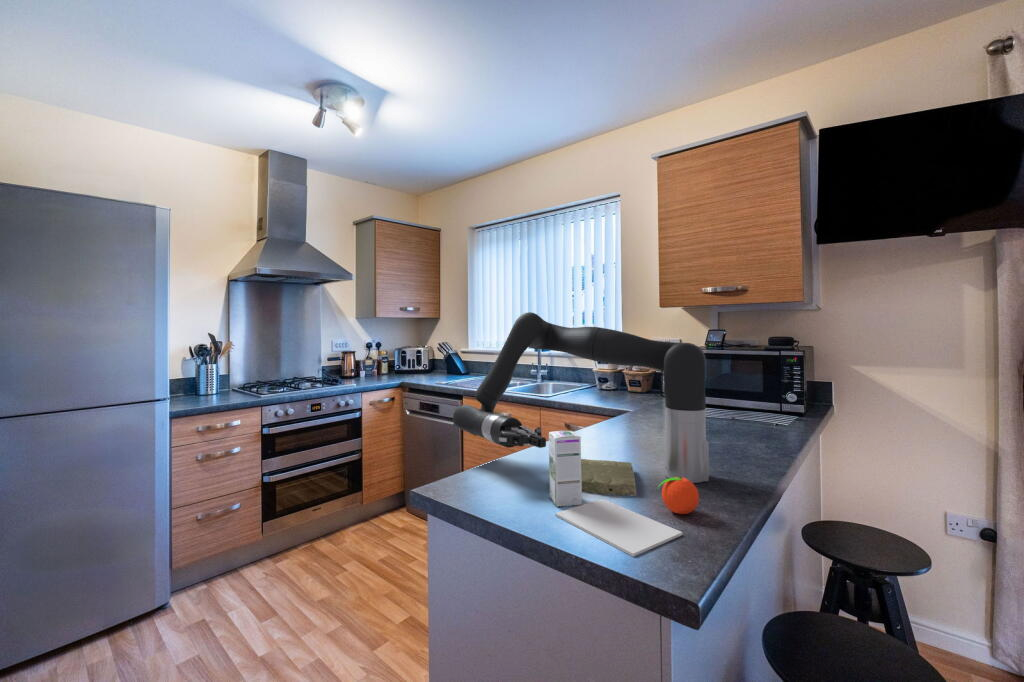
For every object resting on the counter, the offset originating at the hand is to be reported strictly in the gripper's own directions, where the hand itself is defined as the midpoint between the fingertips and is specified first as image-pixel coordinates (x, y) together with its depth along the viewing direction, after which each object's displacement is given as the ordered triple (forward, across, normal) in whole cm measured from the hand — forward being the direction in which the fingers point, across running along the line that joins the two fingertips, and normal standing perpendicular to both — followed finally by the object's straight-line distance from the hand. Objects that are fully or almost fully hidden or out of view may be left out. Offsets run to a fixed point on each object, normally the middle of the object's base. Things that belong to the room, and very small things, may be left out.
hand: (543, 442), depth 97 cm
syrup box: (+7, 0, +11) cm, 13 cm away
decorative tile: (+1, +14, +12) cm, 19 cm away
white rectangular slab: (+21, 0, +11) cm, 24 cm away
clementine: (+24, +14, +11) cm, 30 cm away
